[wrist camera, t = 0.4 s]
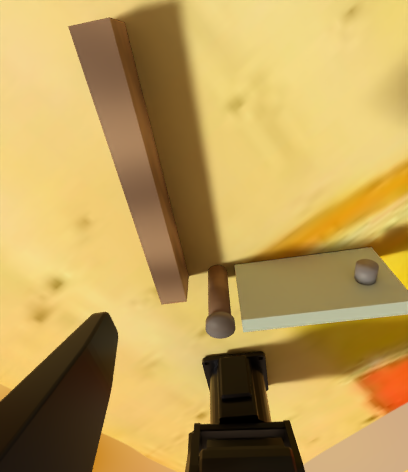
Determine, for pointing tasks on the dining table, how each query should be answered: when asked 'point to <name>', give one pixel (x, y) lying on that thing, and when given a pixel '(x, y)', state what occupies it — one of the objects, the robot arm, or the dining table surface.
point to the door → (318, 290)
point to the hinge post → (219, 304)
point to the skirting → (132, 148)
